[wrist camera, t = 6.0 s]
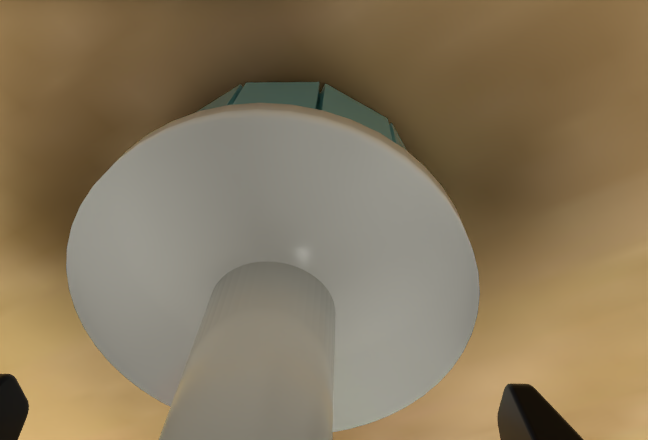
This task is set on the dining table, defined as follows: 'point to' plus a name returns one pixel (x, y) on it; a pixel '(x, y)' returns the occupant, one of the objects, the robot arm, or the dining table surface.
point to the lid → (273, 273)
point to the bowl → (308, 102)
